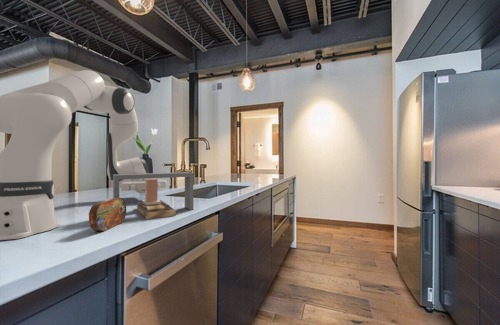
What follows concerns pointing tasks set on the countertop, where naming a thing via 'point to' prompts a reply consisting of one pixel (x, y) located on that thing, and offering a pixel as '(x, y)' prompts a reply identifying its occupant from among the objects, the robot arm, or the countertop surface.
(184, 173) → the archway
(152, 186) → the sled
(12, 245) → the countertop surface
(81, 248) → the countertop surface
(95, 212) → the tin
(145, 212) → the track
